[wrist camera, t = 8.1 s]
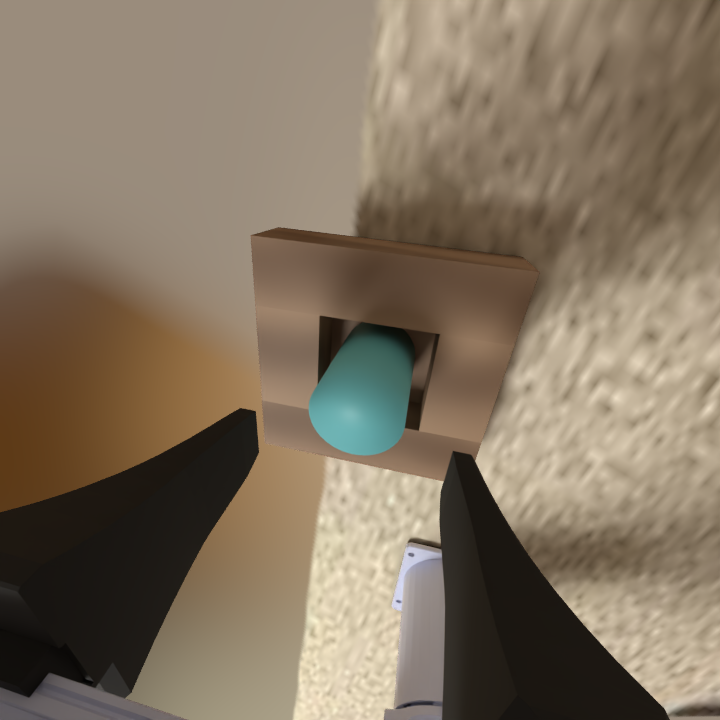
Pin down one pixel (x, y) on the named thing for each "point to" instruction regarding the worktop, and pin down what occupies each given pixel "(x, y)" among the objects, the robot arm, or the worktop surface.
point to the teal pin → (365, 391)
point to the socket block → (396, 309)
